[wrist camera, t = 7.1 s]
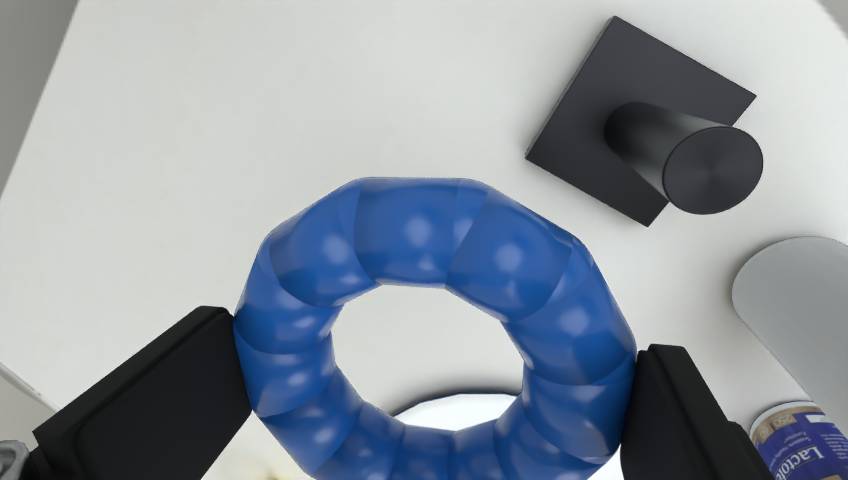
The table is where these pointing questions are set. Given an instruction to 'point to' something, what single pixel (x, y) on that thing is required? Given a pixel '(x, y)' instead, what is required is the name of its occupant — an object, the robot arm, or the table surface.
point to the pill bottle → (800, 443)
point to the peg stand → (649, 130)
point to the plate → (479, 419)
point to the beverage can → (802, 315)
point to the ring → (464, 277)
